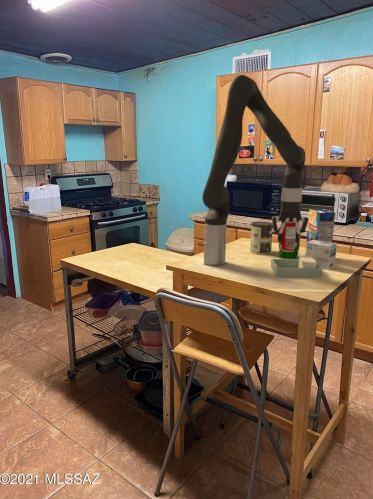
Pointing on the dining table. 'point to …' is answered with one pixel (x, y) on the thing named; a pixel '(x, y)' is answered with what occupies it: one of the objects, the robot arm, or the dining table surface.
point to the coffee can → (261, 237)
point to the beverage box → (320, 225)
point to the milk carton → (294, 253)
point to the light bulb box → (322, 253)
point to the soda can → (288, 237)
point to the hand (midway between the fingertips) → (288, 242)
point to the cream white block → (307, 263)
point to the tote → (293, 269)
